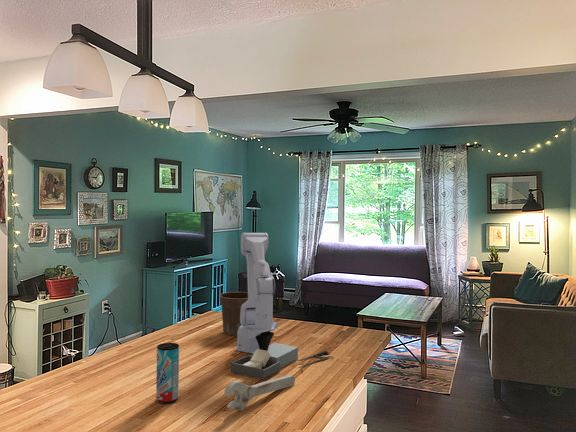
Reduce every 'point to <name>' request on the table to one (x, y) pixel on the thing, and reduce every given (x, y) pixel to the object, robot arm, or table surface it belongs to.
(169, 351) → the beverage can
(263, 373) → the box
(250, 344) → the robot arm
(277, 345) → the gray rectangular block
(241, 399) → the wrench
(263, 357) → the tile back
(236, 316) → the plant pot
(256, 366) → the tile front
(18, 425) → the table surface
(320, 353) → the hacksaw
